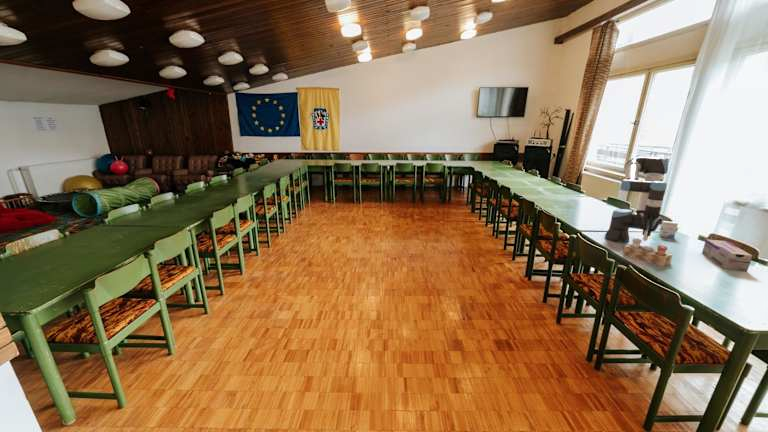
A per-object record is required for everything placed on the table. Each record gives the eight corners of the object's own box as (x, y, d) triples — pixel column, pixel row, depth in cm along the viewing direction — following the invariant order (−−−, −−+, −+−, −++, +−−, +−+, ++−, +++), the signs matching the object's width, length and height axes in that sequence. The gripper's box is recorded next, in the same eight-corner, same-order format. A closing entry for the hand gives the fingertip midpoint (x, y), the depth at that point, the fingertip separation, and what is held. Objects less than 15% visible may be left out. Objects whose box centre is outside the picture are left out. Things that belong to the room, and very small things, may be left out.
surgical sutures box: (701, 253, 212) (706, 239, 209) (722, 256, 209) (727, 241, 206) (723, 269, 190) (728, 253, 187) (746, 272, 186) (752, 255, 183)
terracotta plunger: (653, 257, 200) (656, 246, 198) (657, 255, 202) (660, 244, 200) (662, 259, 196) (665, 248, 194) (666, 258, 198) (669, 247, 196)
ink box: (672, 236, 244) (676, 221, 241) (674, 238, 240) (678, 223, 237) (658, 234, 249) (662, 220, 246) (659, 236, 245) (663, 221, 242)
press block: (622, 254, 213) (624, 246, 211) (630, 251, 217) (632, 243, 216) (662, 266, 194) (664, 257, 193) (670, 263, 199) (672, 254, 197)
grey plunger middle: (639, 257, 207) (642, 246, 205) (643, 255, 209) (646, 245, 207) (648, 259, 203) (650, 249, 201) (651, 258, 205) (654, 247, 203)
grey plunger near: (629, 249, 212) (631, 239, 210) (632, 248, 214) (635, 238, 212) (636, 251, 208) (639, 241, 206) (640, 250, 210) (643, 240, 208)
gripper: (638, 204, 202) (630, 238, 209) (663, 209, 191) (654, 244, 198) (644, 202, 205) (636, 236, 212) (669, 207, 194) (659, 242, 202)
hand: (644, 240), depth 205 cm, fingers closed
